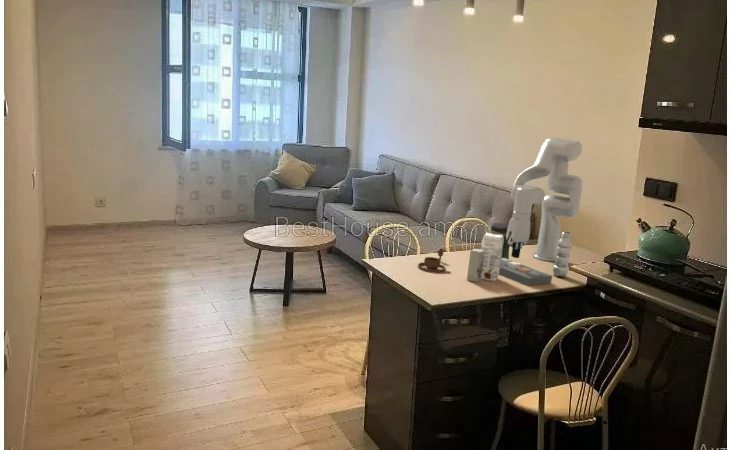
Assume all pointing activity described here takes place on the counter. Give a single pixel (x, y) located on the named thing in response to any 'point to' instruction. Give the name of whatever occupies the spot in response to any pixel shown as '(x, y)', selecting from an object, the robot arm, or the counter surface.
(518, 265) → the key
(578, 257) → the counter surface
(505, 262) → the key
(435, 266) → the brown cup and saucer
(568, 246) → the plastic bottle
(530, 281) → the keypad
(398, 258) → the counter surface
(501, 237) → the juice carton
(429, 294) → the counter surface
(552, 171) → the robot arm
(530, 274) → the key
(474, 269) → the box
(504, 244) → the coffee jar
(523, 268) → the key
